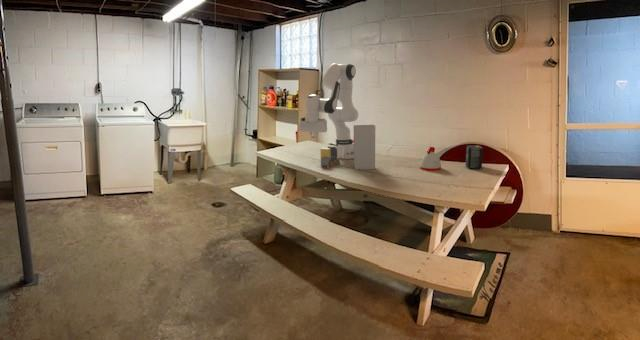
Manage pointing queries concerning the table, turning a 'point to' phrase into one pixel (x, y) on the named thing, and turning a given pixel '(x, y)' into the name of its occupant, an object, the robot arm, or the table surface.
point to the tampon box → (474, 156)
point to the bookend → (325, 161)
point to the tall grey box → (364, 147)
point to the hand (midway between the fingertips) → (313, 138)
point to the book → (325, 152)
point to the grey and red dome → (430, 161)
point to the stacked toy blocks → (333, 158)
